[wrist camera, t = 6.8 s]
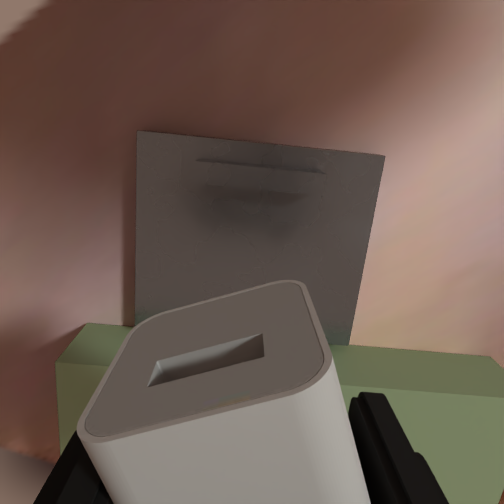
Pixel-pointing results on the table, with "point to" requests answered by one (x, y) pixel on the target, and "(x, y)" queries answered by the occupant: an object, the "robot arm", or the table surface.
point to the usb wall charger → (225, 407)
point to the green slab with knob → (352, 383)
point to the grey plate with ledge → (251, 222)
